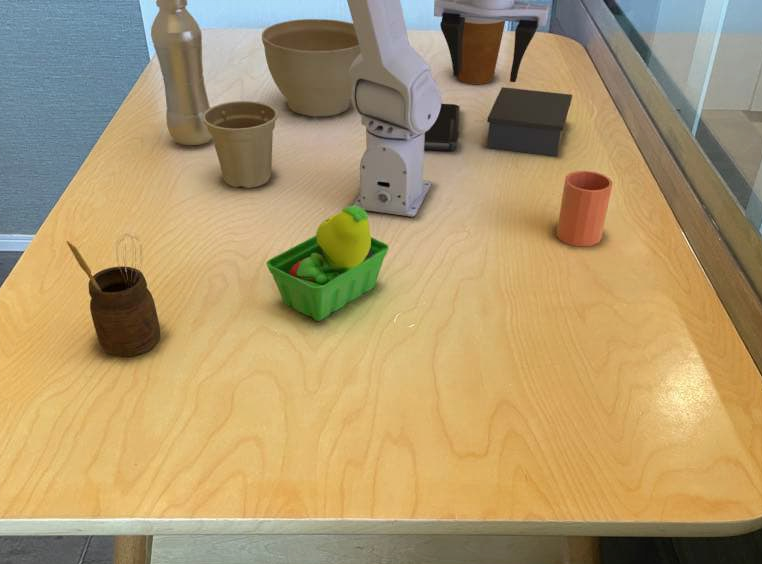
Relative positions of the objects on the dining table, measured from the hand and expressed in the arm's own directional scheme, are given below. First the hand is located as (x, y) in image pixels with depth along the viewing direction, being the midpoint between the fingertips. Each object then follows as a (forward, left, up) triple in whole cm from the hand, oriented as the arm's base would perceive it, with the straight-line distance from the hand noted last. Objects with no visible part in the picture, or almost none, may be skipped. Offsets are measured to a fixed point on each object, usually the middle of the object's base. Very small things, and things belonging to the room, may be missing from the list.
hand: (485, 76), depth 110 cm
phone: (+5, +8, -10) cm, 14 cm away
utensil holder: (-55, +25, -10) cm, 62 cm away
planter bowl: (+9, +27, -10) cm, 30 cm away
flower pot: (-18, +28, -10) cm, 35 cm away
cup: (-21, -16, -10) cm, 29 cm away
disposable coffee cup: (+29, +6, -10) cm, 31 cm away
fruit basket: (-42, +8, -10) cm, 44 cm away
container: (+7, -6, -10) cm, 14 cm away
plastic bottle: (-9, +40, -10) cm, 42 cm away
